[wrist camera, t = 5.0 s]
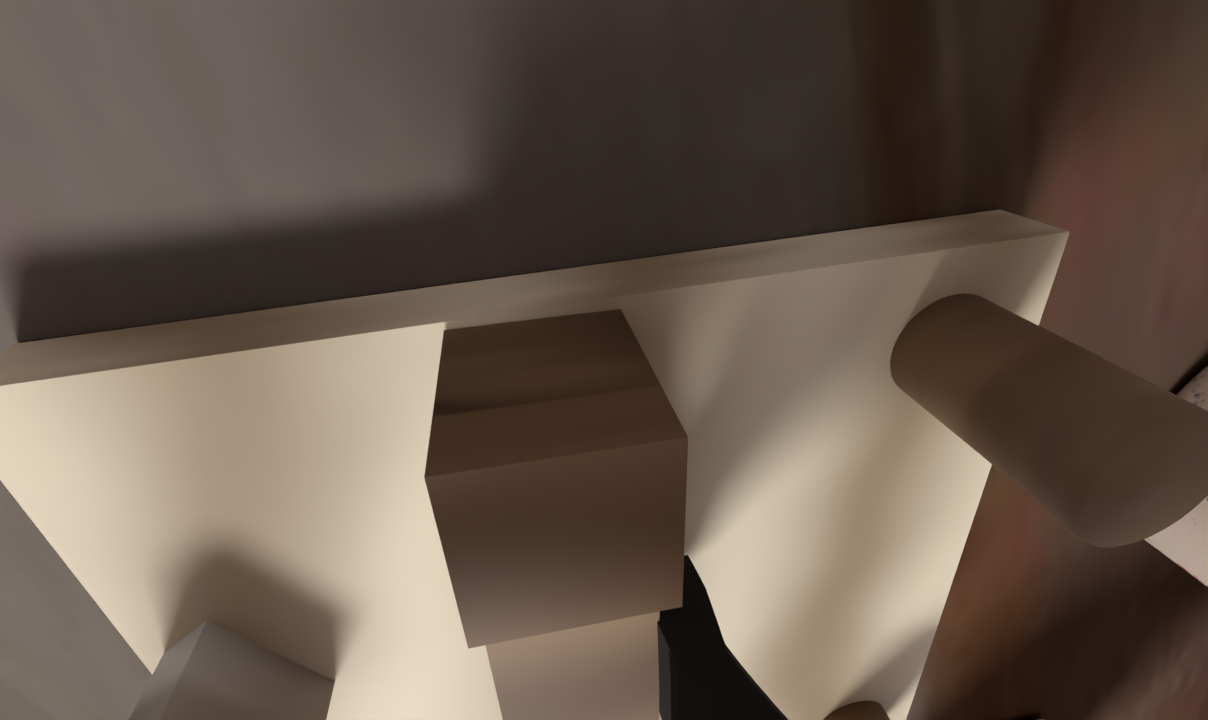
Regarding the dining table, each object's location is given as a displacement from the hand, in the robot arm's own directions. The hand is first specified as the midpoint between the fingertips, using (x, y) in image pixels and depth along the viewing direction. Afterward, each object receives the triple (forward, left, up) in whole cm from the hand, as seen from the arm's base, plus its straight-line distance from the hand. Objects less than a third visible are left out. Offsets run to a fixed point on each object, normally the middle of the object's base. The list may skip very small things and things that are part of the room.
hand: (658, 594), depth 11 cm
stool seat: (+1, +2, -3) cm, 4 cm away
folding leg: (+2, +1, -1) cm, 2 cm away
